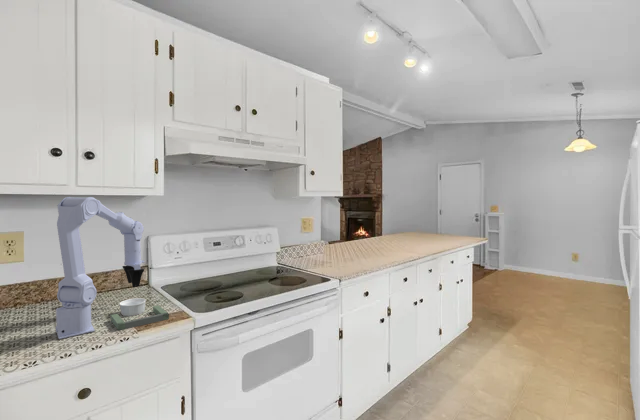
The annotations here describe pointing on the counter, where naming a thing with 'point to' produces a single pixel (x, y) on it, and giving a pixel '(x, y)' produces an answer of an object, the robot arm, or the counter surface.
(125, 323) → the chute bay
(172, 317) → the counter surface
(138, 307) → the ramekin
